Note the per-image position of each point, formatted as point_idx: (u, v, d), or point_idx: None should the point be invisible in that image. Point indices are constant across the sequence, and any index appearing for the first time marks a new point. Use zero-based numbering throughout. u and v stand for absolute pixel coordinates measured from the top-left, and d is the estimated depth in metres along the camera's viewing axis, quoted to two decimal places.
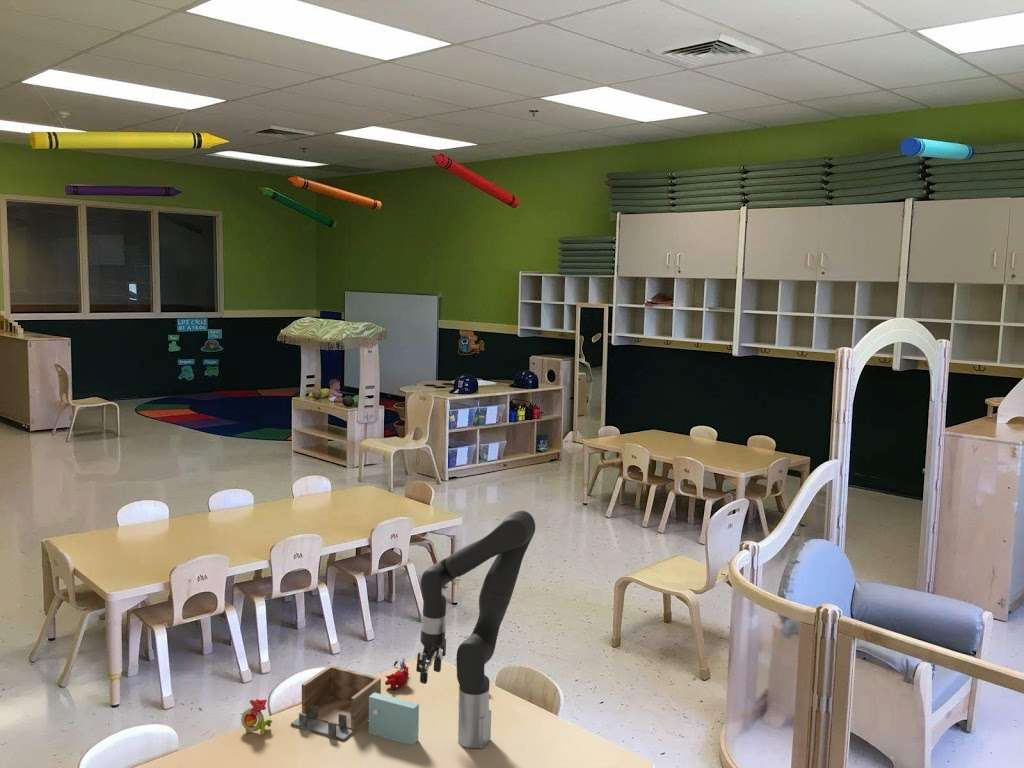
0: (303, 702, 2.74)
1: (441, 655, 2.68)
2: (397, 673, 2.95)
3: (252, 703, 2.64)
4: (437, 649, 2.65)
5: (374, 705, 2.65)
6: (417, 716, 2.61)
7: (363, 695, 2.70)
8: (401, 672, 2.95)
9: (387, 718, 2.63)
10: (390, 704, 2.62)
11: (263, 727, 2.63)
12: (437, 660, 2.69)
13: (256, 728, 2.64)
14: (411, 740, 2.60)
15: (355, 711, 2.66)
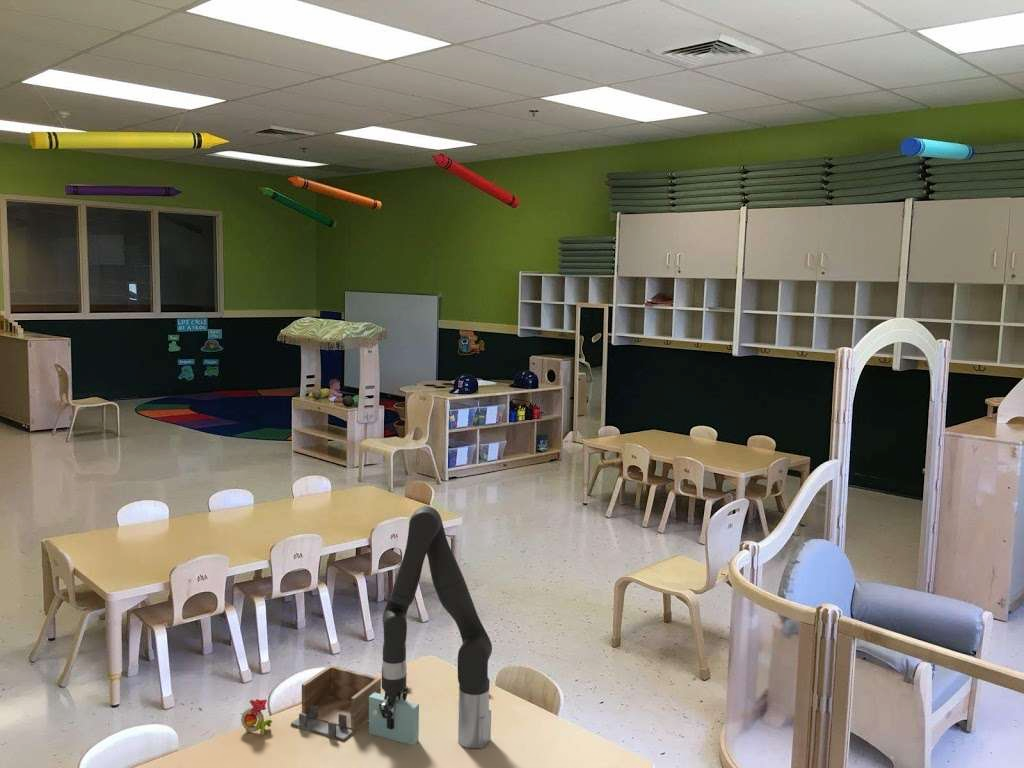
0: (303, 702, 2.74)
1: None
2: None
3: (252, 703, 2.64)
4: (399, 693, 2.63)
5: (374, 705, 2.65)
6: (417, 716, 2.61)
7: (363, 695, 2.70)
8: None
9: None
10: None
11: (263, 727, 2.63)
12: None
13: (256, 728, 2.64)
14: (411, 740, 2.60)
15: (355, 711, 2.66)
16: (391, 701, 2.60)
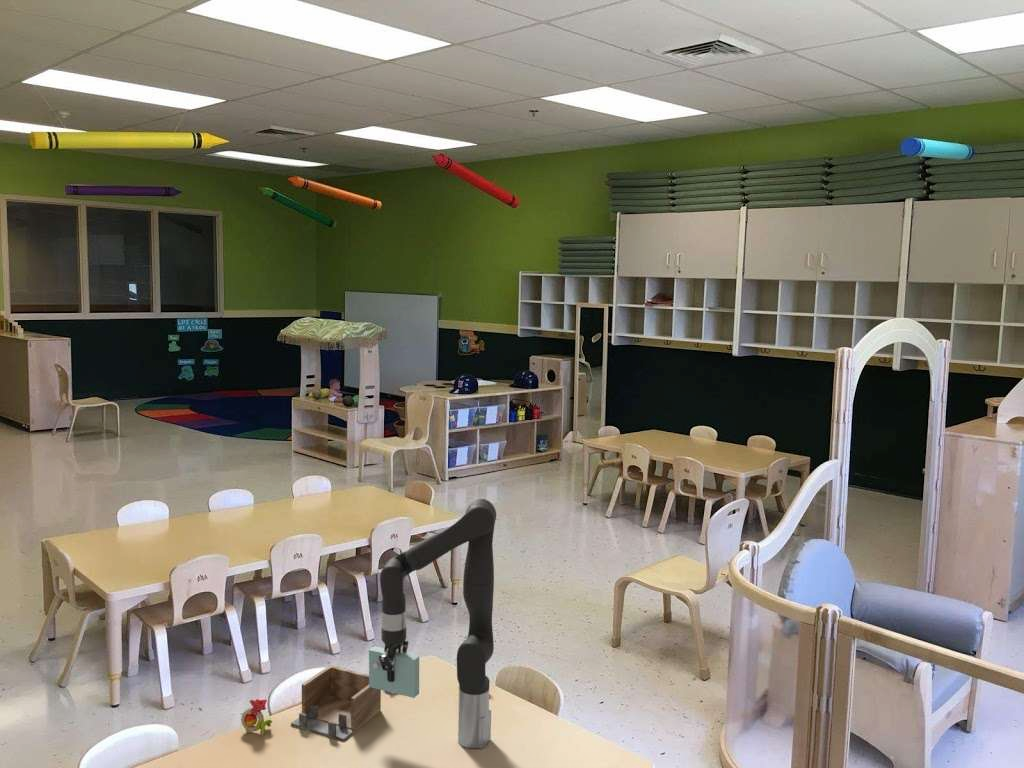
0: (303, 702, 2.74)
1: None
2: None
3: (252, 703, 2.64)
4: (399, 646, 2.61)
5: (374, 658, 2.63)
6: (418, 668, 2.59)
7: (363, 695, 2.70)
8: None
9: None
10: None
11: (263, 727, 2.63)
12: None
13: (256, 728, 2.64)
14: (412, 692, 2.58)
15: (355, 711, 2.66)
16: (391, 653, 2.58)
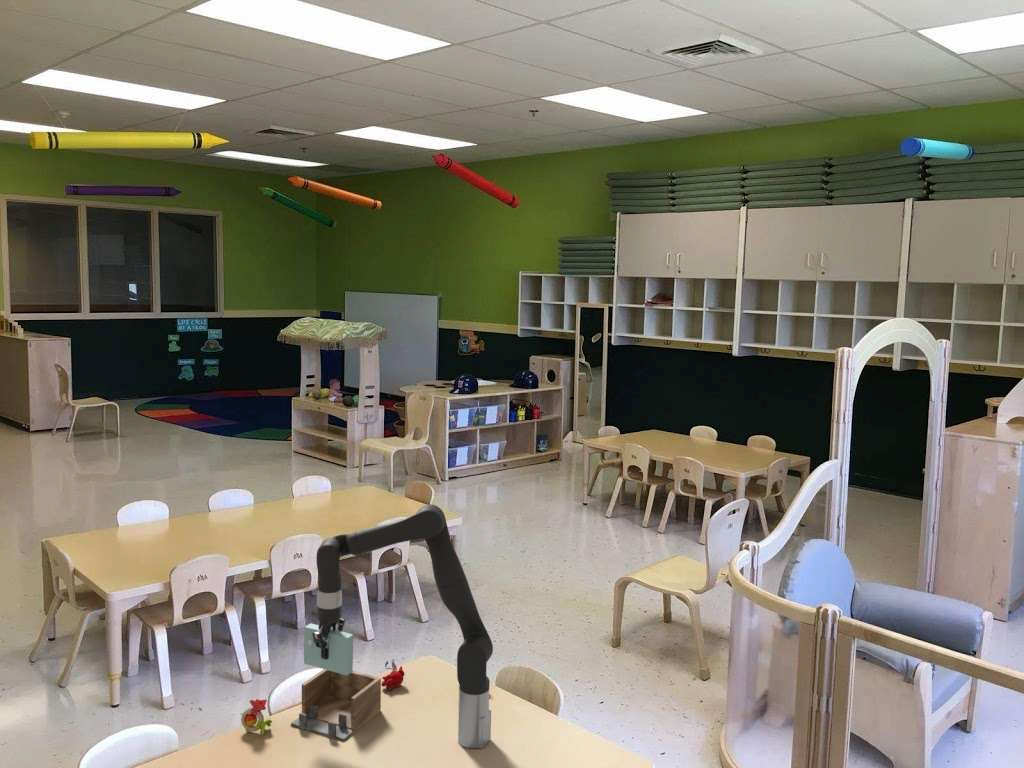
0: (303, 702, 2.74)
1: None
2: (393, 673, 2.95)
3: (252, 703, 2.64)
4: (334, 624, 2.64)
5: (309, 635, 2.65)
6: (351, 646, 2.62)
7: (363, 695, 2.70)
8: (397, 672, 2.96)
9: None
10: None
11: (263, 727, 2.63)
12: None
13: (256, 728, 2.64)
14: (344, 670, 2.61)
15: (355, 711, 2.66)
16: (325, 631, 2.60)
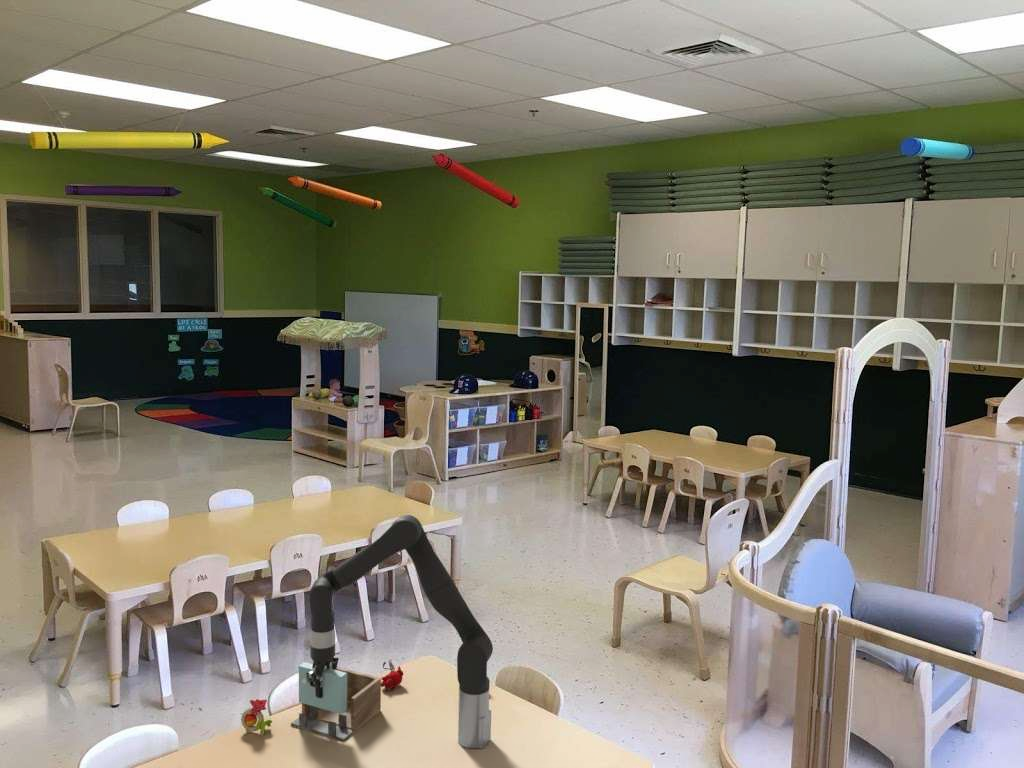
0: None
1: None
2: (392, 673, 2.95)
3: (252, 703, 2.64)
4: (328, 662, 2.66)
5: (304, 674, 2.67)
6: (345, 685, 2.64)
7: (363, 695, 2.70)
8: (396, 672, 2.96)
9: None
10: None
11: (263, 727, 2.63)
12: None
13: (256, 728, 2.64)
14: (339, 708, 2.63)
15: (355, 711, 2.66)
16: (319, 670, 2.62)
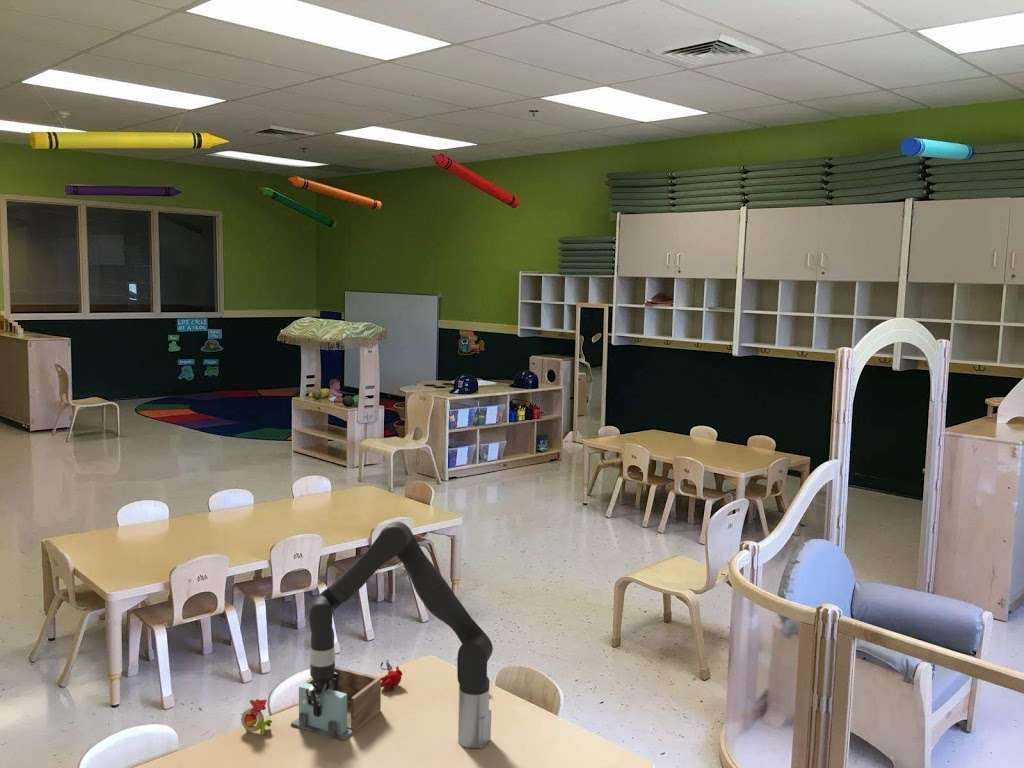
0: None
1: None
2: (391, 673, 2.95)
3: (252, 703, 2.64)
4: (328, 681, 2.66)
5: (304, 695, 2.68)
6: (345, 706, 2.65)
7: (363, 695, 2.70)
8: (395, 672, 2.95)
9: None
10: (319, 694, 2.65)
11: (263, 727, 2.63)
12: None
13: (256, 728, 2.64)
14: (339, 729, 2.64)
15: (355, 711, 2.66)
16: (319, 687, 2.63)
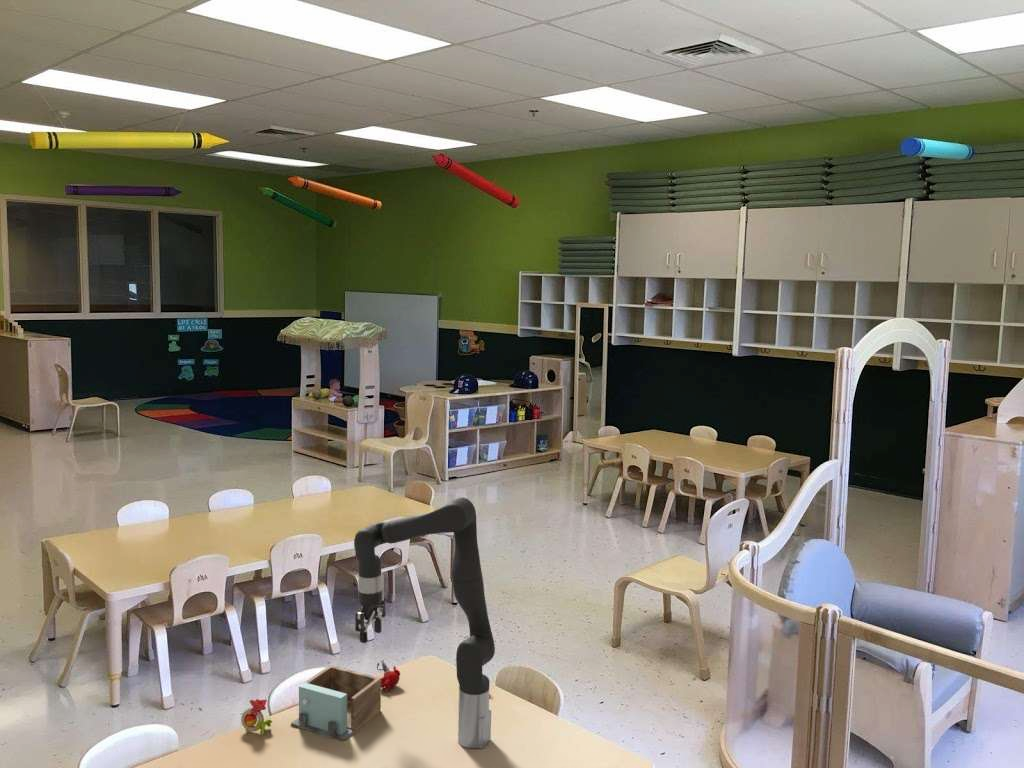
0: None
1: (380, 615, 2.75)
2: (389, 674, 2.95)
3: (252, 703, 2.64)
4: (375, 609, 2.72)
5: (304, 695, 2.68)
6: (345, 706, 2.65)
7: (363, 695, 2.70)
8: (393, 672, 2.95)
9: (316, 707, 2.66)
10: (319, 694, 2.65)
11: (263, 727, 2.63)
12: (377, 621, 2.76)
13: (256, 728, 2.64)
14: (339, 729, 2.64)
15: (355, 711, 2.66)
16: (368, 612, 2.69)
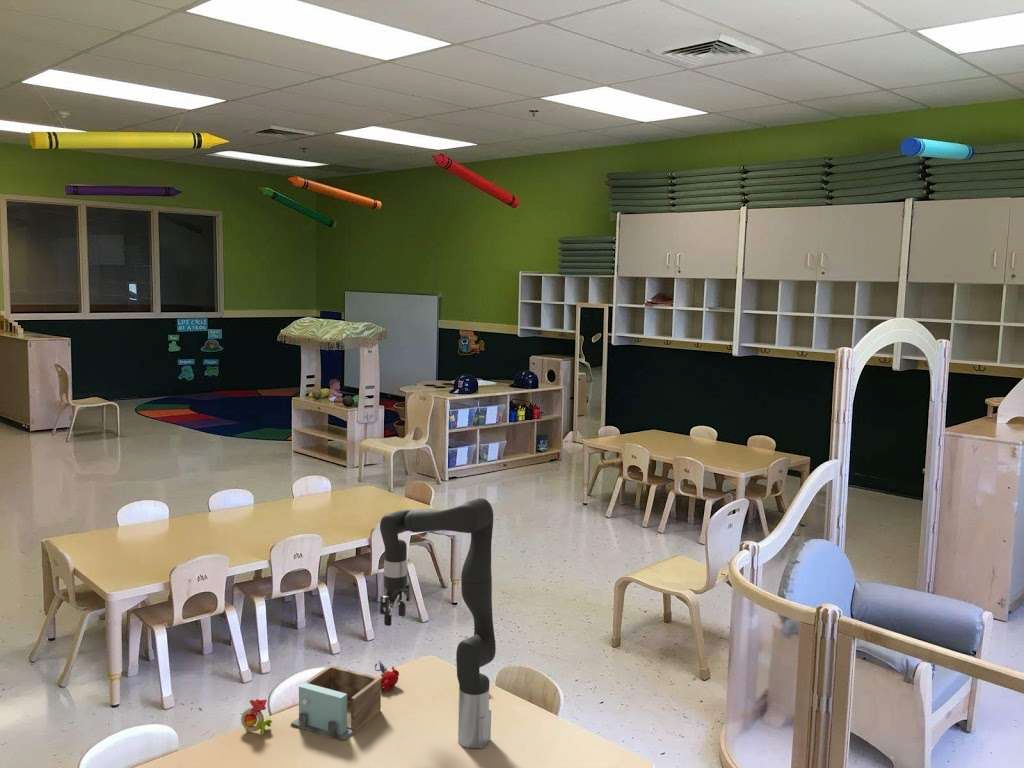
0: None
1: (405, 599, 2.80)
2: (388, 674, 2.94)
3: (252, 703, 2.64)
4: (400, 593, 2.77)
5: (304, 695, 2.68)
6: (345, 706, 2.65)
7: (363, 695, 2.70)
8: (392, 672, 2.95)
9: (316, 707, 2.66)
10: (319, 694, 2.65)
11: (263, 727, 2.63)
12: (401, 605, 2.81)
13: (256, 728, 2.64)
14: (339, 729, 2.64)
15: (355, 711, 2.66)
16: (393, 596, 2.74)
